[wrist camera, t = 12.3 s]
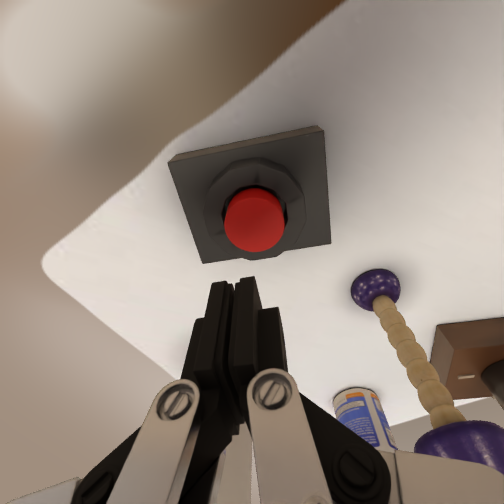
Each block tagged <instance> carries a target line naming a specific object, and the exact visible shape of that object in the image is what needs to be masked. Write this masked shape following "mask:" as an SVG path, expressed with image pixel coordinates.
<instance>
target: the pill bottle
mask: <svg viewBox="0 0 504 504" xmlns="http://www.w3.org/2000/svg"><path fill="white" fill-rule="evenodd" d="M333 405H334V410H335V414H336V419H337V420H338V421H339V422H341V423H342V424H344V425H345V426H346V427H348V428H349V429H350V430H352V431H353V432H355V433H356V434H357V435H359V436H360V437H361V438H363V439H364V440H366V441H367V442H368V443H370V444H371V445H372V446H373V447H374V448H375V449H377V450H380V451H386V452H392V453H394V449H395V450H398V448H397V446H396V443H395V441H394V438H393V435H392V433H391V430H390V428H389V425H388V422H387V420H386V417H385V414H384V412H383V409H382V406H381V404H380V401H379V399H378V397H377V395H376V394H375V393H373V392H372V391H370V390H367V389H362V388H354V389H349V390H346V391H344V392H342V393H340V394H339V395H338V396H337V397H336V398H335V400H334V403H333Z"/></svg>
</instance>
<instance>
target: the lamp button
mask: <svg viewBox="0 0 504 504" xmlns="http://www.w3.org/2000/svg"><path fill="white" fill-rule="evenodd" d="M284 225H285V224H284V217H283V211H282V207H281V204H280V202H279V200H278V199H277V198H276V197H275V196H274V195H273V194H272V193H270V192H269V191H266V190H264V189H260V188H250V189H245V190H243V191H241V192H239V193H238V194H236V195H235V196H234V197H233V198H232V200H231V201H230V203H229V205H228V209H227V213H226V217H225V222H224V227H225V232H226V235H227V237H228V238H229V240H230V241H231V242H232V243H233V244H234V245H235V246H237V247H238V248H240V249H242V250H245V251H249V252H260V251H264V250H267V249H269V248H271V247H273V246H274V245H275V244H276V243H277V242H278V241H279V240H280V238H281V237H282V235H283V232H284Z"/></svg>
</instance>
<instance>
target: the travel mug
mask: <svg viewBox="0 0 504 504" xmlns="http://www.w3.org/2000/svg"><path fill="white" fill-rule="evenodd" d="M251 468H252V438H251V435H250V432H249V430H248V427H247V425H246V422H245V423H244V424H240V431H239V435H233V436H232V441H231V443H230V444H229V445H228V446H227V447H226V458H225V463H224V468H223V473H222V478H221V483H220V488H219V492H218V497H217V502H216V504H251V470H252V469H251Z"/></svg>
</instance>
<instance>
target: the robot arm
mask: <svg viewBox="0 0 504 504" xmlns="http://www.w3.org/2000/svg"><path fill="white" fill-rule="evenodd" d="M245 422H246V425H247V427H248V430H249V432H250V435H251V438H252V441H253V449H254V457H255V464H256V472H257V479H258V487H259V495H260V503H261V504H504V475H503V474H502V473H500V472H499V471H497V470H495V469H494V468H492V467H489V466H486V465H483V464H480V463H475V462H468V461H462V460H456V459H450V458H444V457H438V456H432V455H426V454H419V453H413V452H407V451H401V450H395V449H394V453H392V452H386V451H380V450H377V449H375V448H374V447H373V446H372V445H371V444H370V443H368V442H367V441H366V440H364V439H363V438H361V437H360V436H359V435H357V434H356V433H355V432H353V431H352V430H350V429H349V428H348V427H346V426H345V425H344V424H342V423H341V422H339V421H338V420H337V419H335V418H334V417H333V416H331V415H330V414H328V413H327V412H326V411H324V410H323V409H322V408H320V407H319V406H317V405H316V404H315V403H313V402H312V401H311V400H309V399H308V398H306V397H305V396H304V395H302V394H301V393H300V392H299V391H298V388H297V384H296V382H295V380H294V378H293V377H292V376H291V375H290V374H289V373H288V367H287V358H286V350H285V341H284V334H283V327H282V322H281V317H280V312H279V308H278V307H274V308H267V309H262V305H261V301H260V297H259V292H258V288H257V284H256V280H255V277H254V276H252V277H246V278H241V279H240V282H238V283H235V291H234V287H233V285H232V283H231V284H228V283H227V281H221V282H214V283H212V285H211V289H210V294H209V298H208V303H207V308H206V312H205V317H204V318H198V319H196V321H195V323H194V327H193V331H192V335H191V339H190V343H189V347H188V351H187V355H186V359H185V363H184V367H183V371H182V375H181V379H180V380H176V381H173V382H171V383H169V384H168V385H166V386H165V387H163V388H162V390H160V392H159V393H158V394H157V395H156V397H155V399H154V401H153V403H152V405H151V407H150V409H149V411H148V414H147V416H146V418H145V420H144V422H143V424H142V426H141V427H139V428H138V429H137V430H136V431H135V432H134V433H133V434H132V435H131V436H129V437H128V438H127V439H126V440H125V441H124V442H123V443H121V444H120V445H119V446H118V447H117V448H116V449H115V450H113V451H112V452H111V453H110V454H109V455H108V456H107V457H106V458H105V459H103V460H102V461H101V462H100V463H99V464H98V465H97V466H95V467H94V468H93V469H92V470H91V471H90V472H89V473H88V474H87V475H86V476H85V477H84V478H83V479H80V478H79V477H76V478H73V479H70V480H67V481H64V482H61V483H59V484H56V485H53V486H50V487H47V488H45V489H42V490H39V491H36V492H33V493H31V494H28V495H25V496H22V497H20V498H17V499H14V500H12V501H10V502H8V503H6V504H216V502H217V497H218V492H219V488H220V483H221V478H222V473H223V468H224V463H225V458H226V447H227V446H228V445H229V444H230V443H231V441H232V436H233V435H239V431H240V424H244V423H245Z"/></svg>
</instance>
